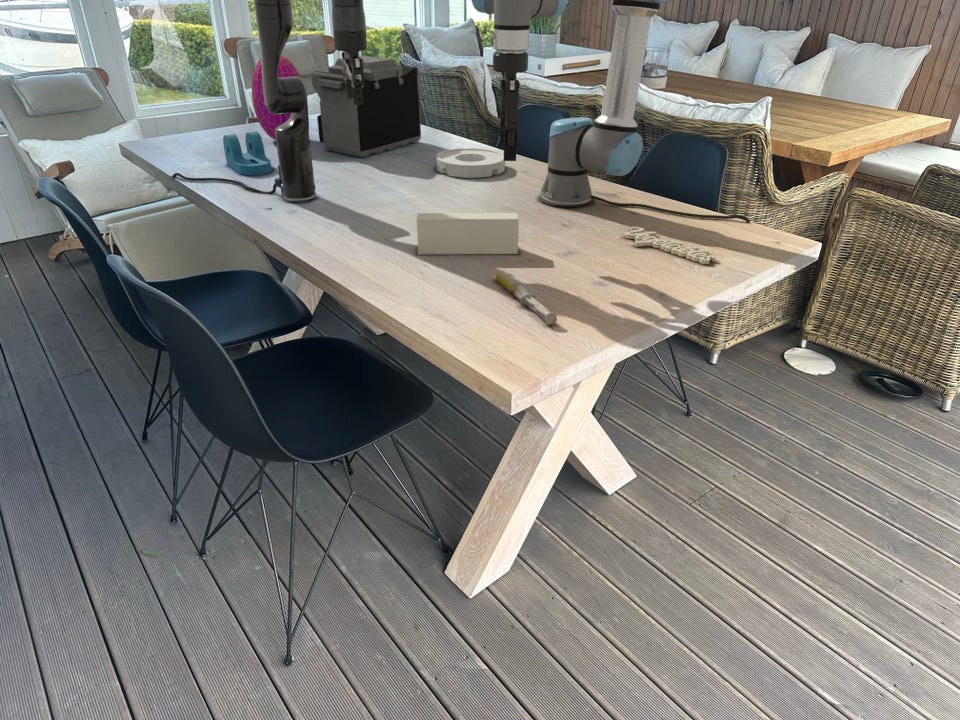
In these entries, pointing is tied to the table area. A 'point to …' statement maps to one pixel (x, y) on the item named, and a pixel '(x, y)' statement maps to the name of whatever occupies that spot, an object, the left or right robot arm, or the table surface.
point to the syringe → (525, 297)
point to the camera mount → (246, 154)
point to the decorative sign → (669, 245)
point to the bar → (467, 233)
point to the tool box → (369, 108)
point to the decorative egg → (262, 113)
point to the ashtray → (470, 162)
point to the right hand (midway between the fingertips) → (507, 153)
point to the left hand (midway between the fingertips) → (355, 101)
